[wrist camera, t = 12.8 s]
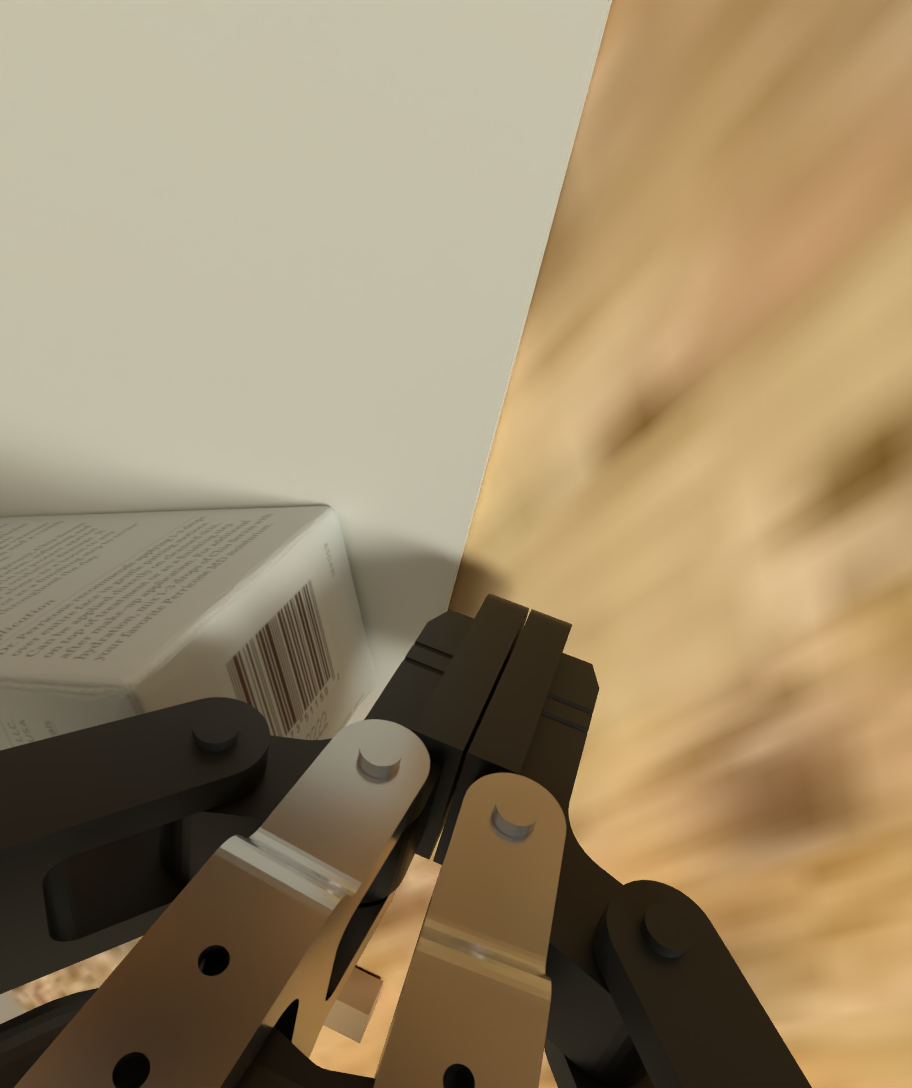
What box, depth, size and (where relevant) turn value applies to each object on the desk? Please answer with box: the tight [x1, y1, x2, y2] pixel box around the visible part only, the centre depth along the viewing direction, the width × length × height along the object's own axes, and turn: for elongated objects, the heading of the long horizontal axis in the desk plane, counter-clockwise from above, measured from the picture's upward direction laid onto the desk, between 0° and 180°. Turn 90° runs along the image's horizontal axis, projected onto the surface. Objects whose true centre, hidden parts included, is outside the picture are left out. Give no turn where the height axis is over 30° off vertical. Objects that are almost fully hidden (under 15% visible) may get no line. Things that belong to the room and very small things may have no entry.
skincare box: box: [0, 506, 376, 750], centre depth 15 cm, size 6×4×12 cm
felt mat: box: [0, 0, 612, 727], centre depth 15 cm, size 17×18×1 cm
